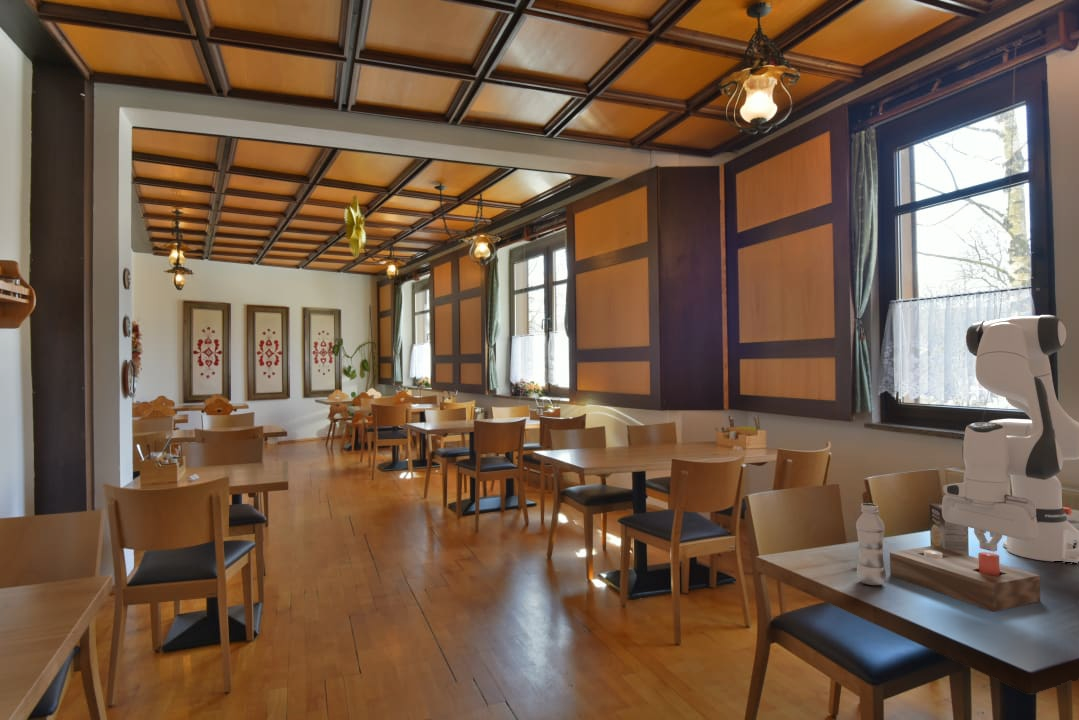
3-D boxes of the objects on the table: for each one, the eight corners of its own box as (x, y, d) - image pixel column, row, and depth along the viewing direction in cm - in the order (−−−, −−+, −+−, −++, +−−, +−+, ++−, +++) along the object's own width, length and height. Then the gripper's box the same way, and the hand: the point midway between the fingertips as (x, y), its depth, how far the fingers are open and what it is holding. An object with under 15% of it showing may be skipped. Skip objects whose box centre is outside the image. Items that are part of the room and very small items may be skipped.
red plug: (986, 578, 146) (985, 551, 146) (1004, 584, 142) (1003, 556, 142) (975, 580, 144) (974, 553, 145) (992, 586, 141) (991, 558, 141)
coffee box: (929, 559, 172) (928, 502, 172) (954, 560, 171) (953, 503, 171) (944, 570, 163) (942, 510, 163) (970, 571, 162) (969, 511, 162)
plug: (932, 574, 159) (931, 549, 159) (946, 579, 155) (946, 553, 155) (921, 576, 158) (920, 551, 158) (935, 581, 154) (934, 555, 154)
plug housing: (934, 567, 165) (933, 545, 165) (1040, 601, 140) (1039, 575, 140) (890, 575, 159) (889, 552, 159) (993, 611, 135) (992, 584, 135)
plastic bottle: (850, 581, 155) (848, 503, 155) (869, 578, 157) (867, 501, 158) (873, 590, 149) (871, 508, 149) (892, 585, 152) (890, 506, 152)
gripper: (1044, 498, 135) (1046, 560, 135) (954, 483, 154) (956, 537, 154) (1025, 501, 133) (1027, 564, 133) (936, 485, 152) (938, 540, 152)
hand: (988, 549), depth 143 cm, fingers closed
